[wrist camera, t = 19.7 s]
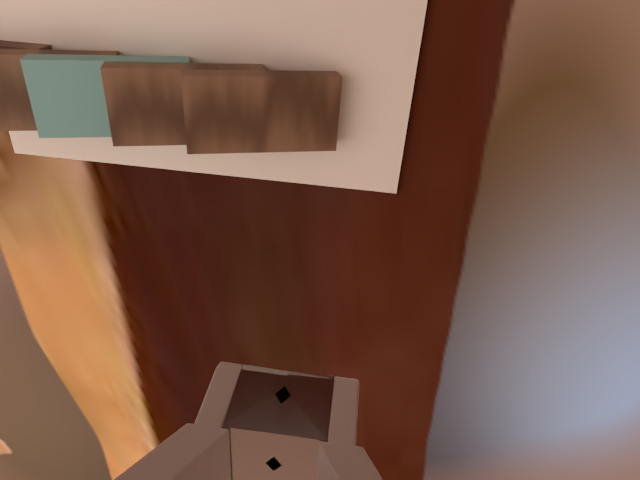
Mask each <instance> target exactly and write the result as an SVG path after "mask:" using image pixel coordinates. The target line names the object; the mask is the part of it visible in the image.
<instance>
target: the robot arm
mask: <svg viewBox="0 0 640 480" xmlns="http://www.w3.org/2000/svg"><path fill="white" fill-rule="evenodd" d="M333 385H334V386H333ZM332 394H333V395H332ZM358 395H359V381H358V379H352V378H344V377H335V379H334V376H328V375H320V374H311V373H303V372H294V371H283V370H276V369H270V368H263V367H257V366H250V365H242V364H235V363H228V362H222V361H221V362H220V363H219V364H218V366H217V367H216V370H215V372H214V375H213V377H212V380H211V382H210V385H209V388H208V390H207V393H206V395H205V398H204V400H203V403H202V406H201V408H200V411H199V413H198V416H197V418H196V421H195V423H194V424H189V423H187V424H186V425H184V426H183V427H182V428H181V429H179V430H178V431H177V432H175V433H174V434H173V435H171V436H170V437H169V438H168V439H166V440H165V441H164V442H162V443H161V444H160V445H158V446H157V447H156V448H155V449H153V450H152V451H151V452H149V453H148V454H147V455H146V456H144V457H143V458H142V459H140V460H139V461H138V462H136V463H135V464H134V465H133V466H131V467H130V468H129V469H127V470H126V471H125V472H124V473H122V474H121V475H120V476H118V477H117V478H116V479H114V480H382V478H381V476H380V475H379V473H378V471H377V470H376V468H375V466H374V465H373V463H372V461H371V460H370V458H369V457H368V455H367V453H366V452H365V450H364V448H363V447H358V446H356V432H357V413H358ZM331 403H332V404H331Z"/></svg>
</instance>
